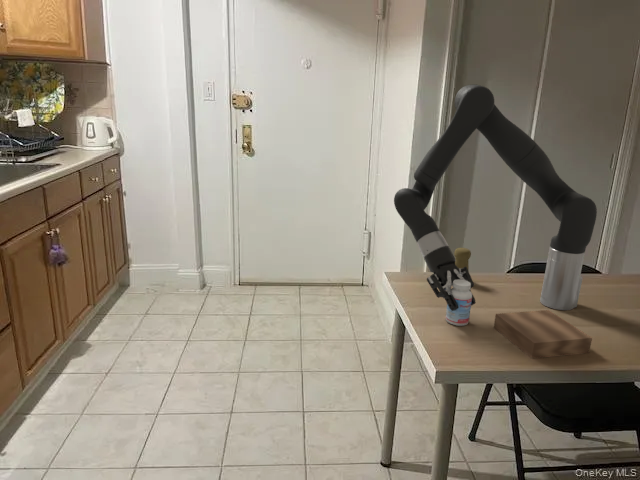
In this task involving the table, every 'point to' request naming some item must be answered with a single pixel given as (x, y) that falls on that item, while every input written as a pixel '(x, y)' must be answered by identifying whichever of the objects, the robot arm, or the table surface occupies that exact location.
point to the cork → (462, 257)
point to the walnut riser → (542, 333)
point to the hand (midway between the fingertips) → (464, 306)
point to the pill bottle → (460, 303)
